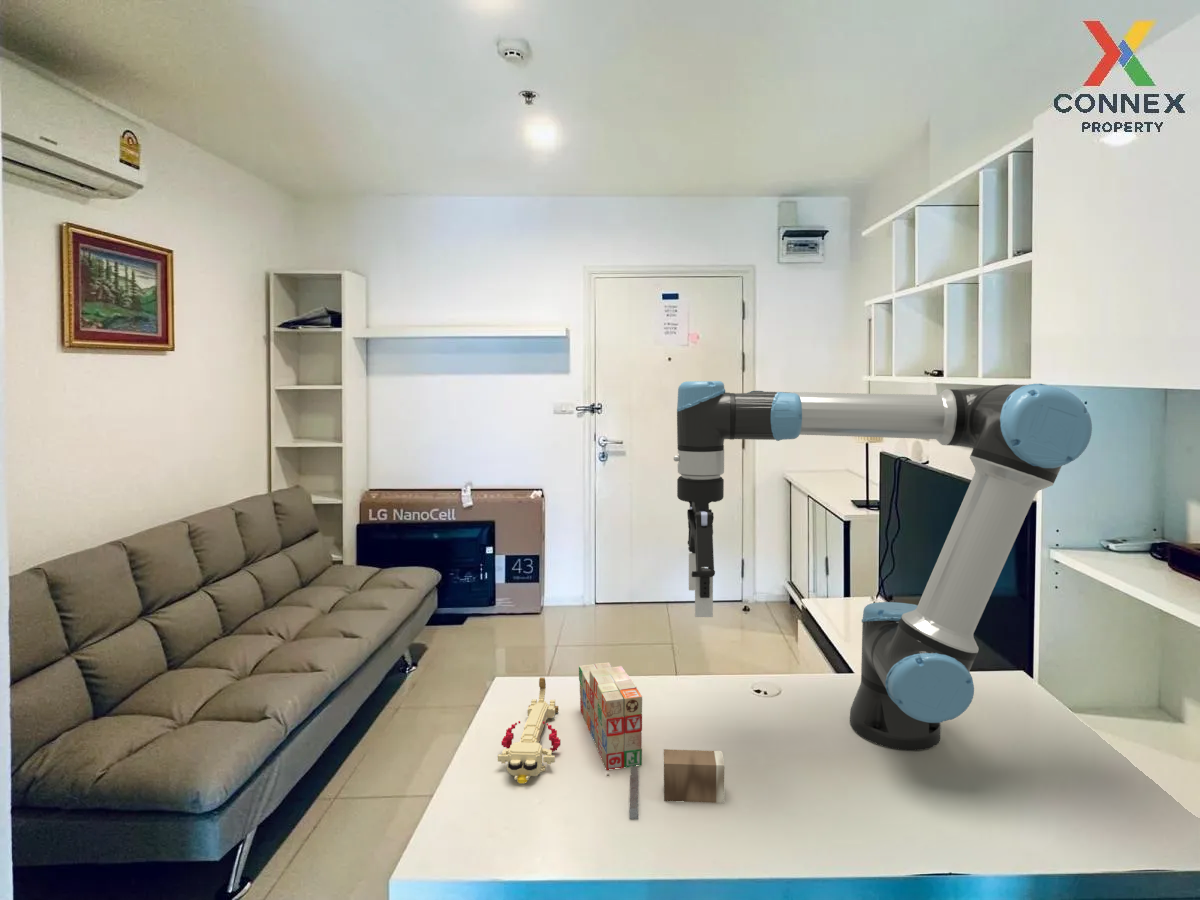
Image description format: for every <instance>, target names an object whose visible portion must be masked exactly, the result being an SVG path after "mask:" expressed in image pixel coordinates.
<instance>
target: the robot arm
mask: <svg viewBox="0 0 1200 900" xmlns="http://www.w3.org/2000/svg"><path fill="white" fill-rule="evenodd" d="M676 404H677V408H676V431H677V432H676V435H677V436H676V438H677V439H676V440H677V441H676V442H677V445H676V446H677V455H674V456H673V461H674V462H677V473H678V474H679V475H680V476H678V478H677V479H676V481H677V483H676V485H677V487H676V488H677V489H676V492H677V493H676V496H677V498H678V499H679V501H683V502H686V503H688V504H689V509H687V511H686V512H687V525H688V526H687V527H688V540H687V545H688V547H687V548H688V551H689V552H688V591H694V617H695V618H713V617H714V615H713V613H714V584H713V583H714V577H715V574H716V571H715V557H714V537H713V535H714V527H713V526H714V524H713V523H714V512H713V511H712V509H711V508H710V505H709V504H710V503H717V502H720V501H722V500H723V499H724V487H725V486H724V483H725V481H724V478H723V477H722V475H723V474H724V473H725V445H724V443H725V440H729V441H730V440H731V441H733V440H751V441H753V440H754V441H755V440H756V441H757V440H758V441H759V440H763V441H764V440H765V441H767V440H768V441H769V440H770V441H775V442H776V441H777V442H778V441H779V442H780V441H782V440H783V441H784V440H795V439H797V438H798V437H799V436H829V437H832V436H833V437H859V438H860V437H862V438H864V437H865V438H891V439H916V440H917V439H918V440H922V439H923V440H924V439H925V440H927V439H928V440H936V441H937V442H938V443H939V444H940V445H941V446H954V447H965V448H969V449H972V450H971V453H970V455H969V459H970V461H971V463H972V465H973V468H974V470H975V472H974V474H973V476H972V479H971V481H970V483H969V485H968V488H967V490H966V492H965V495H964V496H963V500H962V502H961V505H960V507H959V508H958V511H957V513H956V516H955V518H954V520H953V522H952V525H951V528H950V530H949V531H948V534H947V536H946V539H945V542H944V543H943V546H942V548H941V551H940V553H939V556H938V558H937V559H936V562H935V564H934V567H933V569H932V572H931V574H930V576H929V579H928V581H927V582H926V586H925V588H924V590H923V592H922V595H921V597H920V600H919V602H918V604H914V603H906V602H895V601H893V602H891V601H882V602H872V603H869V604H867V605H865V606H864V608H863V612H862V619H861V623H862V626H861V627H862V628H861V629H862V630H861V631H862V632H861V663H860V665H861V666H860V667H861V669H860V673H861V676H860V683H859V684H860V685H859V687H858V689H857V692H856V693H855V697H854V699H853V700H852V704H851V706H850V709H849V725H850V727H851V729H852V730H853V731H854V732H855V733H856V734H857V735H859V736H860V737H862V739H864V740H867V741H869V742H871V743H873V744H876V745H878V746H882V747H886V748H888V749H889V748H890V749H893V750H899V751H925V750H927V749H930V748H934V747H935V746H937V745H939V742H940V741H941V736H942V735H941V732H942V727H941V723H943V722H946V721H951V720H954V719H956V718H959V716H961V715H962V714H963V713H965V711H966V710H967V709H968V708H969V707H970V705H971V704H972V701H973V699H974V696H975V685H974V680H973V676H972V675H971V672H970V670H971V669H972V667H973V665H974V662H975V660H976V657H977V655H978V653H979V646H978V644H977V641H976V640H975V638H974V637H975V636H974V635H975V634H974V633H975V631H976V629H977V626H978V624H979V622H980V620H981V618H982V616H983V613H984V611H985V609H986V606H987V604H988V602H989V600H990V597H991V595H992V593H993V591H994V588H995V587H996V584H997V582H998V580H999V577H1000V576H1001V573H1002V570H1003V568H1004V567H1005V564H1006V562H1007V560H1008V557H1009V555H1010V552H1011V551H1012V548H1013V546H1014V544H1015V542H1016V539H1017V537H1018V535H1019V533H1020V530H1021V528H1022V526H1023V524H1024V521H1025V518H1026V516H1027V515H1028V513H1029V510H1030V508H1031V506H1032V504H1033V501H1034V499H1035V497H1036V495H1037V493H1038V492H1039V491H1042V490H1044V489H1047V488H1049V487H1052V486H1054V484H1055V481H1056V479H1057V477H1058V475H1059V473H1060V471H1061V469H1062V466H1066V465H1068V464H1070V463H1071V462H1073V461H1076V460H1077V459H1078V458H1079V457H1080V456H1082V455H1083V453H1084V452H1085V451H1086V449H1087V448H1088V446H1089V443H1090V441H1091V438H1092V433H1093V432H1092V431H1093V424H1092V419H1091V415H1090V412H1088V409H1087V407H1086V406H1085V404H1084V402H1083V401H1082V400H1081V399H1080V398H1079V397H1078V396H1077V395H1075V394H1074V393H1072V392H1070V391H1069V390H1066V389H1065V388H1062V387H1058V386H1053V385H1047V384H1043V383H1028V384H1014V383H1013V384H1012V383H1011V384H1008V383H1007V384H1004V383H1003V384H999V385H991V386H989V385H988V386H983V387H974V388H964V389H963V388H961V389H959V388H958V389H957V388H956V389H954V388H953V389H950V388H946V389H944V390H942V391H941V392H940V393H939V394H911V393H910V394H909V393H906V394H904V393H903V394H901V393H896V394H895V393H858V392H857V393H856V392H855V393H851V392H847V393H845V392H807V391H806V392H805V391H804V392H803V391H801V392H800V391H799V392H797V391H793V392H792V391H789V392H787V391H785V392H784V391H764V390H752V391H749V392H741V393H740V392H739V393H738V392H737V393H734V392H727V391H726V388H725V383H724V382H723V381H720V380H708V381H707V380H700V381H699V380H697V381H696V380H695V381H683V382H682V383H680V385H678V387H677V403H676Z"/></svg>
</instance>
